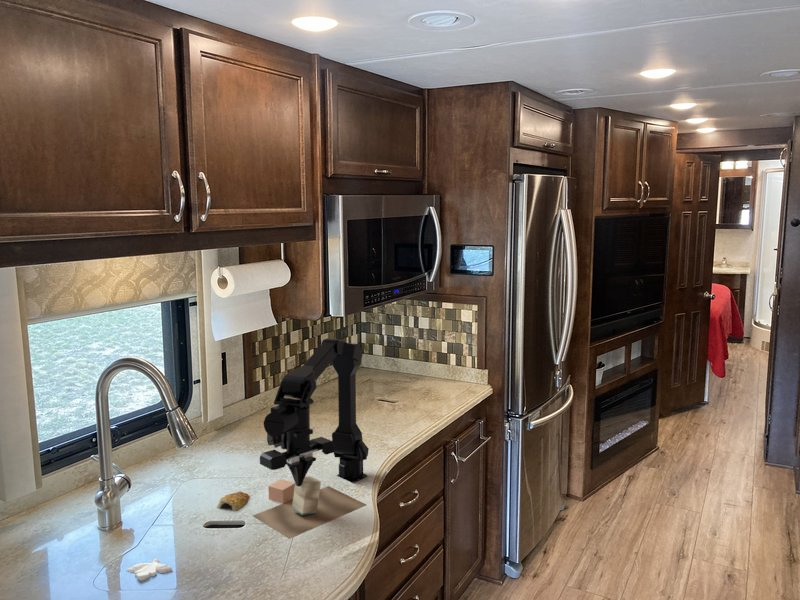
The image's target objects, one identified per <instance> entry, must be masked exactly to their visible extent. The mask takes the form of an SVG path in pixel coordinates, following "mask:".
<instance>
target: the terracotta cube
mask: <svg viewBox="0 0 800 600" xmlns="http://www.w3.org/2000/svg"><path fill="white" fill-rule="evenodd" d="M294 488H295V481H294V482H293V481H289V480H286V479H283V478H280V479H278V480H277V481H275V482H273V483H271V484H269V485H268V489H267V490H268V500H270V501H273V502H277V503H280V504H284V503H286V502H289V501H291V500H293V496H294Z"/></svg>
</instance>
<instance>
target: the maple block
mask: <svg viewBox="0 0 800 600" xmlns="http://www.w3.org/2000/svg"><path fill="white" fill-rule="evenodd" d="M321 485H322V481H321V480H319V479H318V478H315V477H314V476H311V475H308V476H307V475H306V476H305V478H304V480H303V482H302V484H301V486H299V487H298V486H296V484H295V488H294V496H293V498H292V500H293V503H292V510H294V511H296V512H297V513H299V514H301V515H307V514H312V513H317V507H318V500H319V492H320V489H321Z"/></svg>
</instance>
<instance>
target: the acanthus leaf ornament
mask: <svg viewBox="0 0 800 600" xmlns="http://www.w3.org/2000/svg"><path fill="white" fill-rule="evenodd" d="M172 571H173V567H171V566H168V564H164V563H160V560H159V558H154V559H153V560H152V562H149V563H144V562H143V563H142V562H141V563H137V564H134V565H132V567H128V568H127V569H126V572H130V573H132V572H134V575H135V576H136V577H135V578H137V579H138V581H139V580H140V582H141V581H142V580H143V581H145V580H148V579H149V578H150V576H153V577H154V575H155V576H157V573H158V572H159V573H160V574H164V573H168V572H172ZM148 577H149V578H148Z"/></svg>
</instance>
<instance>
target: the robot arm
mask: <svg viewBox="0 0 800 600" xmlns="http://www.w3.org/2000/svg"><path fill="white" fill-rule="evenodd" d="M363 352H364V351H363V349H362V347H361V346H360V345H359V344H358V343H352V342H345V341H343V340H341V339H339V338H324V339H322V341H321V344H320V345H319V347H318V348H317V349H316V350H315V351H314V353H313V354H312V355H311V356H310V357H309V358H308V359H307V360H306V361H305V363H303V365H301V366H300V367H297V368H294V369H291V370H290V371H289V372H287V373H286V374H285V375H284V376H283V377H282V380H281V381H280V384H279V387H278V390H277V393H276V395H275V398H274V401H273V404H274V405H276V406H273V407H270V412H269V413H268V414H267V415H266V416H265V417H264V420H263V428H264V431H265V432H266V433H267V434H266V435H267V436H266V441H267V445H268V446H273V447H274V449H272V450H268V451H265V452H262V453H261V454H260V456H259V464H260V465H261V466H263V467H265V468H267V469H269V470H271V471H276V470H279V469H282V468H285V466H286V465H287V467H288V469H289V470H290V472H291V476H292V478H293V481H294V483H295V484H296V486H298V487H299V486H301V484H302V482H303V480H304V478H305V477H306V476H307V475H308V474H307V473H308V472H309V470H310V468H311V467H312V465H313V463H314V462H316V461H317V457H314V454H313V453H315V452H318V451H321V453H322V454H324V455H329V454H332V453H333V456H334V458H339V463H338V474H336V476H337V477H338V478H341V479H343V480H345V481H347V482H349V483H355V482H357V481H360V480H362V479H365V478H368V475H367V474H366V473H364V460H365V461H366V460H367V459H368V456H369V447H368V446H367V445H366V443H365V442H364V441H363V432H362V431H361V428H360V427H359V425H358V424H357V399H356V398H357V397H356V396H357V395H356V394H357V392H356V391H357V390H356V388H357V385H356V383H357V382H356V377H357V375H356V374H357V372H358V370H359V368H360V367H361V366H362V359H363ZM330 364H331V365H332V368H333V369H334V370H335V371H334V372H336V374H337V384H338V385H337V388H338V389H337V390H338V391H337V394H338V396H337V397H338V399H337V400H338V404H337V405H338V408H337V409H338V425H337V427H336V428H335V430H334V431H333V432H332V433H331V440H330V439H329V438H325V437H323V436H319V437H316V438H312V439H311V437H310V435H312V434H314V429H312V428H311V424H310V423H311V422H310V421H311V416H310V414H311V413H310V410H311V408H310V407H311V406H310V405H312V404H314V402H315V401H314V399H313V398H311V397H312V396H313V394H314V392H315V391H316V389H317V380H318V379H319V378H320V376H321V375H322V374H323V373H324V371H325V370H326V369H327V368H328V367H329V366H330ZM279 447H280V449H281V450H286V451H283V452H280V451H278V450H276V449H277V448H279Z"/></svg>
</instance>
